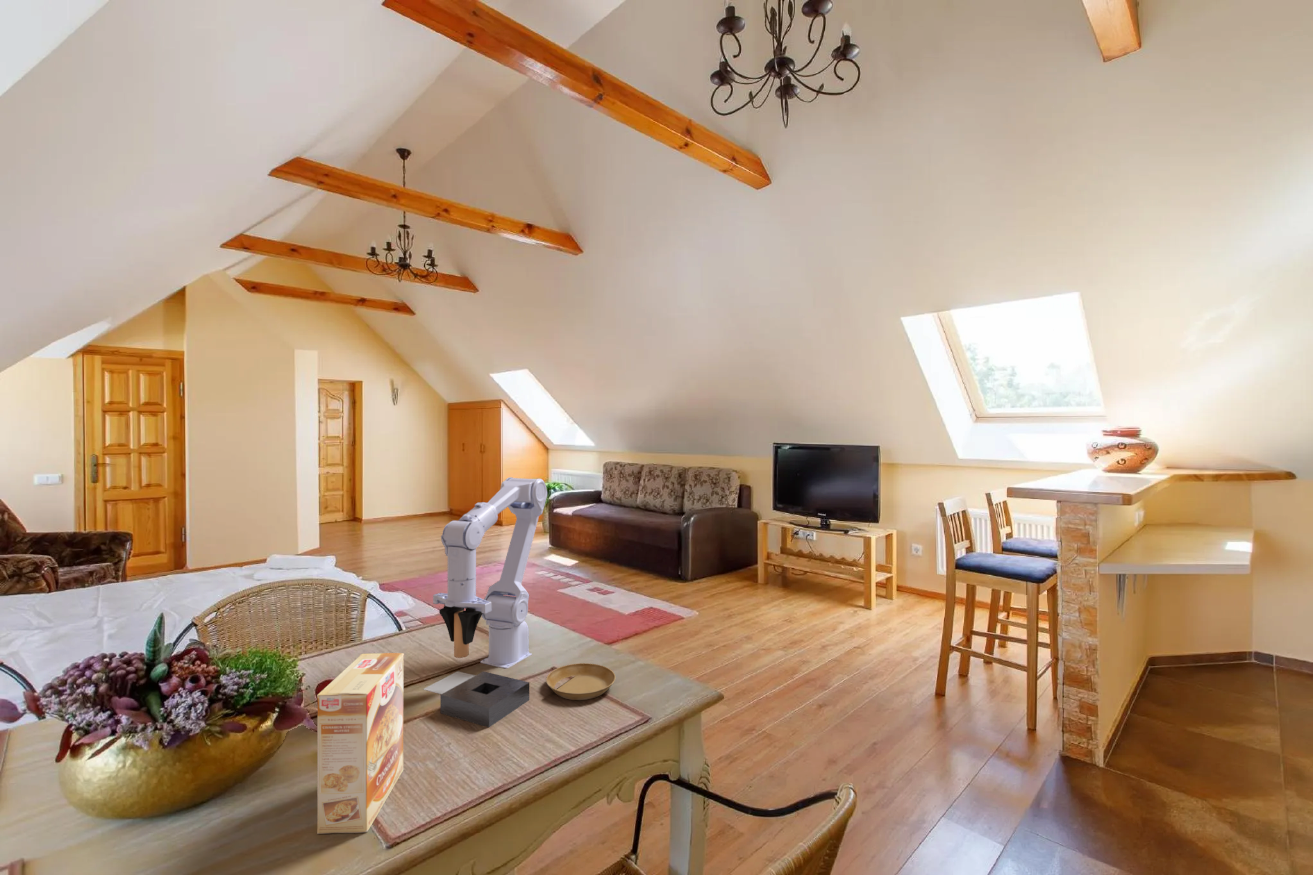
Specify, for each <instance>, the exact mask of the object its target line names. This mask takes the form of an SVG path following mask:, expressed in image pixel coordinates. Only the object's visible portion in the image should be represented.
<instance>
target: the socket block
mask: <svg viewBox="0 0 1313 875" xmlns="http://www.w3.org/2000/svg"><path fill="white" fill-rule="evenodd" d="M439 695H440V697H439V698H440V704H439V705H440V709H439V710H440V714H442V715H445V716H448V717H453V718H456V719H459V720H463V721H465V722H469V723H472V724H474V725H475V724H476V725H478V726H482V727H486V728H491V727H492V726H493V725H495V724H496V723H498V722H499V721H501V720H503V719H504V718H505V717H507V716H508V715H510V714H511V713H513V712H515V710H517V709H519V708H520V707H522V706H523V705H524V704H526V703H528V702H530V682H529V681H525V680H522V679H518V678H513V677H509V676H505V675H500V674H496V673H492V672H489V671H484V670H483V671H481V672H479V673H478V674H476V675H475V676H474V677H472V678H470V679H468V680H467V681H465V682H463V683H461V684H459V685H457V686H456V687H454V688H452V689H450V690H448V691H446V692H445V693H443V694H439Z"/></svg>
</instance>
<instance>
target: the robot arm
mask: <svg viewBox="0 0 1313 875" xmlns="http://www.w3.org/2000/svg"><path fill="white" fill-rule="evenodd" d="M547 489H548V488H547V486H546V483H545V481H544V480H543V479H542V478H520V477H519V478H518V477H511V476H509V477H507V478H506V479H505V480H504V481H502V482H501V485H500V489H499V491H497V492H496V493H495V494H494V495H493V496H492V497H491V498H490V499H489V500H488V502H484V501H482V502H477V503H475V504H474V507H473V508H471V509H470V510H469V511H468V512H466V513H464V514H463V515H462V516H461V517H460V518H459V519H458V520H451V521H449V522H448V523H447V524H445V526H444V528H443V530H442V534H441V535H440V539H441V540H440V541H441V544H442V545H443V547H444V554H445V556H446V557H447V593H444V592H438V593H436V594H433V595H432V602H433V603H432V604H433V605H443V608H440V609H438V610H439V612H438V613H439V615H440V616H441V617H442V620H443V622H444V623H445V625H446V629H447V631H448V636H449V640H450V642H453V643H454V613H455V612H458V611H462V612H459V613H458V616H459V618H460V622H461V626H462V638H463V644H465V645H467V644H469V645H470V643H473V641H474V638H475V633H476V630H477V626H478V625H479V622H480V620H481V618H482V620H484V621H485V624H486V625H488V657H485V658H483V659H481V660H480V663H481V664H484V665H489V666H493V667H497V668H502V669H509V668H511V667H513V666H514V665H516V664H518V663H520V662H521V661H523V660H525V659H526V658H528V657H530V656H532V654H533V653H532V652H530V646H529V645H530V640H529V638H530V630H529V626H528V623H527V622H526V618H527V616H528V612H529V598H530V594H529V592H528V591H527V589H526V588H525V587H524V586H523V580H524V576H525V573H526V572H525V571H526V568H527V566H528V560H529V556H530V553H531V549H532V548H531V547H532V545H533V541H534V536H535V533H536V529H537V525H538V522H539V517H540V516H541V515H543V511H544V509H545V505H546V501H547V498H548V490H547ZM507 508H508V509H509V511H510V512H511V513H512V514H513V515H515V517H516V520H515V525H514V527H513V531H512V535H511V538H510V542H509V546H508V550H507V553H506V557H505V560H504V564H503V568H502V571H501V574H500V578H499V580H498V581H496V582H495V583H494V584H491V585H490V586H488V590H487V592H486V595H485V596H484V598H481V597H479V596H477V548H478V547H479V546H480V544H481V543H482V540H483V537H484V536H485V535H486V534H485V533H486V532H487V531H488V530H489V529H490V528H491V527H492V526H494V525H495V524H496V523H497V521H498V518H499V516H498V515H499V514H500V513H502V512H503V511H504V510H506V509H507Z"/></svg>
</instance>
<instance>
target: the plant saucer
mask: <svg viewBox="0 0 1313 875" xmlns="http://www.w3.org/2000/svg"><path fill="white" fill-rule="evenodd" d="M570 677H571V678H570ZM567 678H570V679H568V680H567V681H566V682H564V683H563V684H561V685H559V687H557V688H555V687H556V685H557V683H559V682H560V681H562V680H564V679H567ZM615 681H616V674H615V672H614V671H613V670H612V669H610V667H607V666H604V665H601V664H598V663H597V664H596V663H589V662H585V663H584V662H581V663H580V662H579V663H571V664H567V665H563V666H560V667H557V668H555V669H553V670H552V671H551V672H549V673H548V675H547V676H546V678H545V682H546V684H547V686H548V687H549V688H550V689H551V691H552V692H554V693H555V694H556V695H558V696H559V697H561V698H563V699H567V700H571V701H585V700H586V701H587V700H591V699H595V698H598V697H599V696H602V695H603V694H604V693H606V692H607V691H608V690H609V688H611V686H612V685H614V683H615Z"/></svg>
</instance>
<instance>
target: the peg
mask: <svg viewBox="0 0 1313 875" xmlns="http://www.w3.org/2000/svg"><path fill="white" fill-rule="evenodd" d="M459 612H462V611H458V612H455V613H454V642H453V658H457V659H461V658H462V659H463V658H466V657H468V656H470V643H469V644H467V645H465V644H463V638H462V626H461V622H460V618H459V616H458V613H459Z"/></svg>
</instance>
